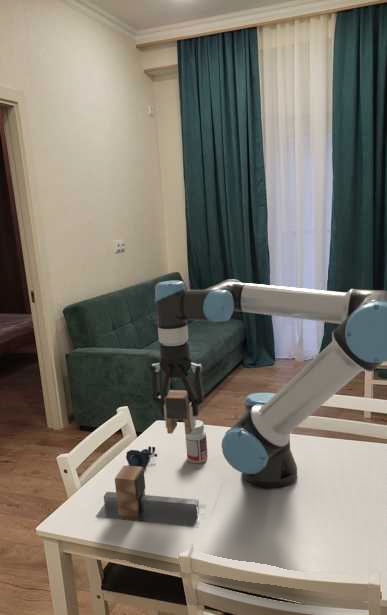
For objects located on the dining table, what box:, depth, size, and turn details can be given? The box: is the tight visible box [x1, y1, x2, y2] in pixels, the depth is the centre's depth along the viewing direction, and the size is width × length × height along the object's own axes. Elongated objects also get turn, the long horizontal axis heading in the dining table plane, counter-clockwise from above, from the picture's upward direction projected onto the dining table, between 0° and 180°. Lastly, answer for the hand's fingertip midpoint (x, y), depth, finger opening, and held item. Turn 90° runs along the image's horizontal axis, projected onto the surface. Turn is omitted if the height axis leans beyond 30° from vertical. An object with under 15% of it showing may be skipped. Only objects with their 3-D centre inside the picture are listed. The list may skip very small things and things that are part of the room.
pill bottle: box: [185, 419, 208, 464], centre depth 144 cm, size 6×6×11 cm
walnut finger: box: [164, 389, 193, 435], centre depth 127 cm, size 5×6×10 cm
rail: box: [95, 491, 207, 529], centre depth 120 cm, size 26×9×4 cm, turn 76°
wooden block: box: [114, 465, 146, 517], centre depth 120 cm, size 5×6×10 cm
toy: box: [125, 446, 158, 468], centre depth 145 cm, size 8×7×15 cm
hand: (180, 426), depth 128 cm, fingers closed on walnut finger, 6 cm apart
